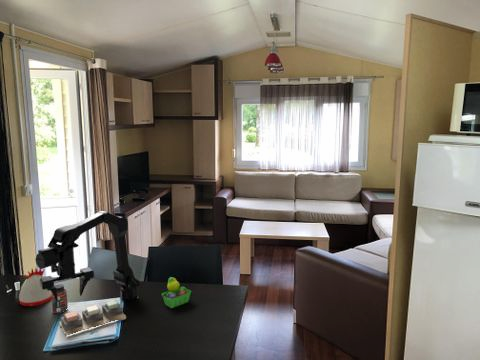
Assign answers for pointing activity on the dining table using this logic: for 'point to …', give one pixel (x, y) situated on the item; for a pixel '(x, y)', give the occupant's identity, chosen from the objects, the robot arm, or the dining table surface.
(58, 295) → the supplement bottle
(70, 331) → the button panel
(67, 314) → the button terracotta
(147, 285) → the dining table surface
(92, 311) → the button cream
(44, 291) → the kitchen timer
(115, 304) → the button sage
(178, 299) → the fruit basket
